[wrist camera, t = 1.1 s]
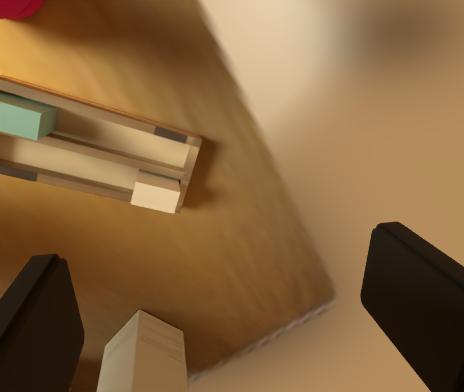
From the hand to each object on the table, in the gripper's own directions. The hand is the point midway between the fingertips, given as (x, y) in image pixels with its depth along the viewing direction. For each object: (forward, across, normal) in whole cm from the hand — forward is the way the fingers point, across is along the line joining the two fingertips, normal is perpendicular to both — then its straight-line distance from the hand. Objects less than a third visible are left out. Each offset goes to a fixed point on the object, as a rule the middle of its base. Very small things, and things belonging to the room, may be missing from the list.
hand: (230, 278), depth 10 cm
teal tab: (+23, +14, -2) cm, 27 cm away
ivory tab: (+24, +4, +5) cm, 24 cm away
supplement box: (+25, +8, +27) cm, 37 cm away
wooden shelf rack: (+25, +9, +1) cm, 26 cm away
